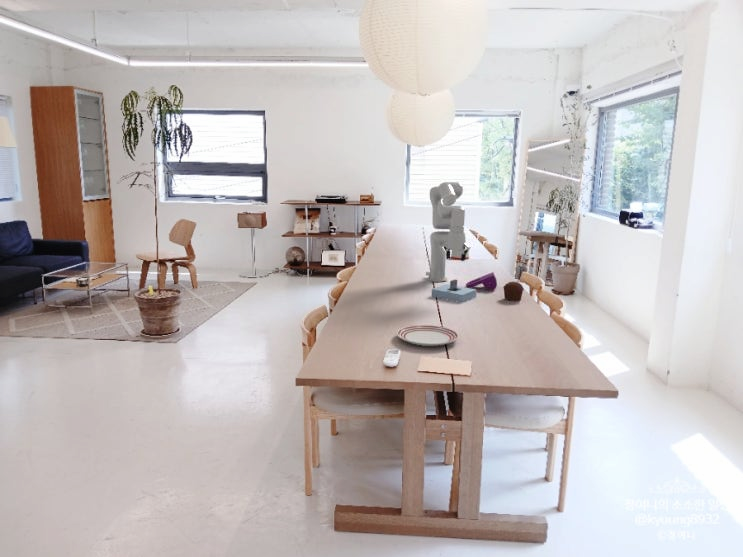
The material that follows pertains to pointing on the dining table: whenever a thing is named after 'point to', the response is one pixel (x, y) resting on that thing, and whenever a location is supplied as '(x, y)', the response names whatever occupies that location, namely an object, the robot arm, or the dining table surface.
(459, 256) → the kitchen timer
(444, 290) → the well block
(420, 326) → the dinner plate
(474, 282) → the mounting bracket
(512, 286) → the muffin
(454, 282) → the steel bracket
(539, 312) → the dining table surface
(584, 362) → the dining table surface
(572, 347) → the dining table surface
